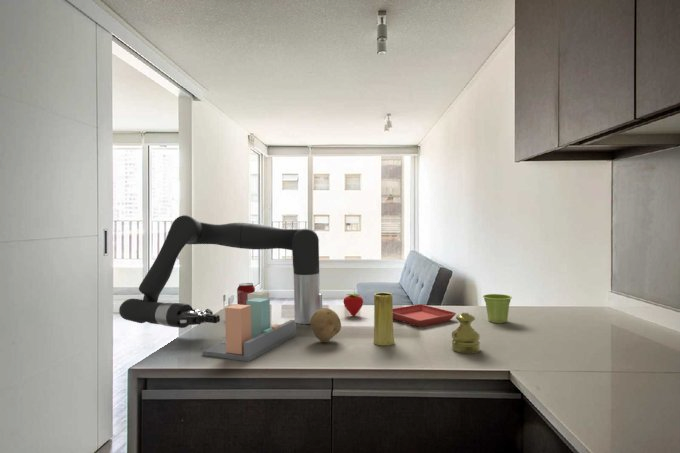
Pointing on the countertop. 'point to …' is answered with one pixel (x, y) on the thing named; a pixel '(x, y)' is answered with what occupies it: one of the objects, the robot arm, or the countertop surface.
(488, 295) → the plant pot
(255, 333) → the key teal
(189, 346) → the countertop surface
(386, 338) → the vase
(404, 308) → the plant saucer
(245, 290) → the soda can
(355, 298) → the strawberry
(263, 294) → the key cream
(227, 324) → the key terracotta
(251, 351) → the grey divided tray
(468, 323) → the olive glossy tiered piece
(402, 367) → the countertop surface
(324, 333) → the natural sponge
